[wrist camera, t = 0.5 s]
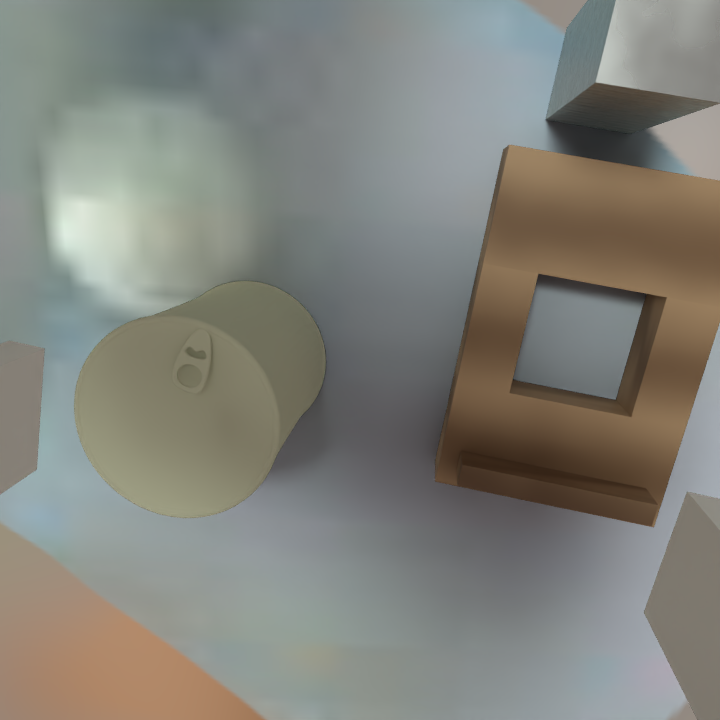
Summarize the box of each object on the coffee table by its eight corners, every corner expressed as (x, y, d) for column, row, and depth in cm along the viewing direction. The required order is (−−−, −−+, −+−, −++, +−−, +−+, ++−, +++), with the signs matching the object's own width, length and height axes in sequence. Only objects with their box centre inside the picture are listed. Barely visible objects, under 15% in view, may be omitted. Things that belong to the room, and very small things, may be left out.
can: (348, 314, 37) (308, 365, 26) (297, 452, 40) (239, 556, 28) (199, 257, 38) (94, 282, 26) (158, 398, 40) (44, 478, 28)
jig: (503, 149, 34) (514, 140, 29) (734, 189, 33) (785, 187, 29) (435, 460, 39) (434, 497, 34) (637, 502, 38) (666, 546, 33)
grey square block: (566, 28, 33) (629, -56, 22) (655, 42, 32) (762, -36, 22) (545, 119, 34) (595, 82, 23) (630, 134, 33) (721, 102, 23)
